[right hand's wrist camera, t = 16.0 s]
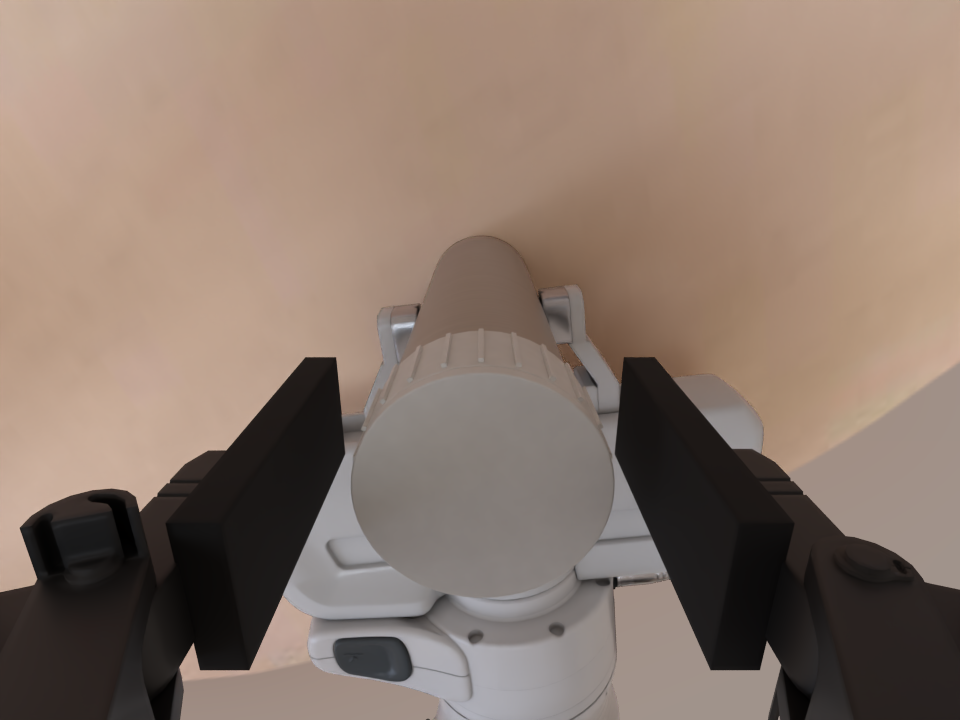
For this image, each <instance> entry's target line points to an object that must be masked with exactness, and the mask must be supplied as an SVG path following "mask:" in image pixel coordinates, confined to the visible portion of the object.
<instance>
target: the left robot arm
mask: <svg viewBox="0 0 960 720" xmlns="http://www.w3.org/2000/svg"><path fill="white" fill-rule="evenodd" d="M538 297H539V300H540V303H541V305H542V308H543V311H544V313H545V316H546V318H547V321H548V323H549V326H550V328H551V331H552V334H553V336H554V339H555V341H556V344H565V343H568V344H569V346H570V347H571V348H572V350H573V351H574V353H575V354H576V355H577V357H578V358H579V360H580V361H581V362H582V364H583V365H584V366H576V367H575V368H574V369H573V374H574V376H575V377H576V379H577V381H578V382H579V384H580V385H581V387H584V386H585V387H586V389H587V391H588V394H589V396H590V398H591V400H592V403H593V405H594V407H595V409H596V412H597V414H598V416H599V418H600V421H601V423H602V425H603V428H602V432H603V434H604V436H605V439H606V441H607V443H608V446H609V448H610V450H611V453H612V457H613V458H611V460H612V464H613V470H614V479H615V488H614V499H613V504H612V509H611V513H610V515H609V518H608V521H607V524H606V526H605V528H604V530H603V532H602V534H601V536H600V537H599V539H598V540H597V542H596V543H595V545H594V546H593V547H592V549H591V550H590V551H589V552H588V553H587V554H586V555H585V557H584V558H583V559H582V560H581V561H580V562H579V563H577V564H576V565H575V566H574V567H572V568H571V569H570V570H569V571H567V572H566V573H564V574H563V575H561V576H560V577H558V578H557V579H555V580H553V581H551V582H549V583H547V584H545V585H543V586H540V587H538V588H535V589H532V590H529V591H526V592H522V593H518V594H514V595H509V596H502V597H492V598H474V597H462V596H456V595H450V594H446V593H443V592H439V591H436V590H433V589H430V588H428V587H425V586H423V585H420V584H418V583H416V582H414V581H412V580H411V579H409V578H407V577H405V576H404V575H402V574H401V573H399V572H398V571H397V570H395V569H394V568H392V567H391V566H390V565H389V564H388V563H387V562H386V561H385V560H383V559H382V558H381V557H380V555H379V554H378V553H377V552H376V551H375V550H374V548H373V547H372V546H371V544H370V543H369V541H368V540H367V538H366V537H365V535H364V534H363V532H362V529H361V527H360V525H359V523H358V521H357V518H356V515H355V511H354V508H353V503H352V497H351V473H352V467H353V460H352V459H353V455H354V452H355V450H356V447H357V445H358V442H359V440H360V438H361V435H362V433H363V431H362V430H361V428H362V426H363V423H364V421H365V419H366V416H367V414H368V411H369V409H370V407H371V404H372V402H373V400H374V397H375V395H376V393H377V391H378V388H380V389H383V387H384V385H385V383H386V381H387V380H388V378H389V376H390V373H391V371H392V368H393V366H394V365H395V364H397V365H398V366H399V364H400V362H401V359H402V356H403V354H404V351H405V348H406V346H407V343H408V340H409V338H410V335H411V332H412V330H413V327H414V324H415V322H416V319H417V316H418V314H419V311H420V308H421V305H420V304H411V305H401V306H390V307H384V308H381V310H380V312H379V313H378V315H377V328H378V334H379V339H380V344H381V349H382V354H383V359H384V360H383V362H382V364H381V367H380V369H379V372H378V375H377V377H376V380H375V382H374V385H373V387H372V390H371V393H370V395H369V398H368V400H367V403H366V406H365V408H364V412H357V413H348V414H342V424H343V434H344V444H345V456H344V458H343V461H342V463H341V465H340V467H339V470H338V472H337V474H336V476H335V479H334V481H333V483H332V485H331V488H330V490H329V492H328V494H327V496H326V499H325V501H324V503H323V505H322V508H321V510H320V512H319V514H318V517H317V519H316V521H315V523H314V526H313V528H312V530H311V532H310V535H309V537H308V539H307V541H306V544H305V546H304V548H303V550H302V553H301V555H300V557H299V559H298V562H297V564H296V566H295V568H294V571H293V573H292V575H291V577H290V580H289V582H288V584H287V586H286V589H285V591H284V593H283V596H284V597H285V598H286V599H287V600H288V601H289V602H290V603H291V604H292V605H293V606H294V607H296V608H297V609H298V610H300V611H302V612H304V613H306V614H308V615H311V616H312V620H311V625H310V630H309V635H308V641H307V646H308V652H309V655H310V658H311V660H312V662H313V664H314V665H315V666H316V667H317V668H319V669H320V670H322V671H324V672H328V673H332V674H337V675H343V676H351V677H358V678H363V679H370V680H375V681H381V682H386V683H391V684H395V685H400V686H404V687H407V688H411V689H414V690H418V691H421V692H424V693H427V694H430V695H433V696H435V697H438V698H440V700H439V706H438V710H437V714H436V716H435V718H434V719H433V720H620V717H619V707H618V702H617V697H616V694H615V691H614V688H613V685H612V680H613V677H614V673H615V667H616V630H615V607H614V595H613V589H615V587H620V586H621V587H623V586H633V585H644V584H651V583H656V582H661V581H662V580H663V581H665V580H668V579H669V580H670V577H669V575H668V573H667V571H666V568H665V566H664V564H663V562H662V559H661V557H660V555H659V553H658V550H657V548H656V546H655V544H654V541H653V539H652V537H651V535H650V532H649V530H648V528H647V526H646V523H645V521H644V519H643V517H642V514H641V512H640V510H639V508H638V505H637V503H636V501H635V499H634V496H633V494H632V492H631V490H630V488H629V485H628V483H627V481H626V479H625V476H624V474H623V472H622V470H621V467H620V465H619V463H618V461H617V458H616V456H615V444H616V434H617V424H618V413H619V403H620V393H621V383H619V382H618V380H617V379H616V377H615V375H614V373H613V372H612V370H611V368H610V367H609V365H608V363H607V362H606V360H605V359H604V357H603V356H602V355H601V353H600V352H599V350H598V349H597V348H596V346H595V345H594V343H593V342H592V341H591V339H590V338H589V336H588V335H587V334H586V329H585V313H584V300H583V295H582V291H581V290H580V288H579V287H578V286H577V284H575V285H567V286H559V287H551V288H544V289H538ZM672 379H673V380H674V381H675V382H676V383H677V385H678V386H679V387H680V388H681V389H682V390H683V392H684V393H685V394H686V395H687V396H688V398H689V399H690V400H691V401H692V402H693V403H694V405H695V406H696V407H697V408H698V409H699V411H700V412H701V413H702V414H703V415H704V416H705V418H706V419H707V420H708V421H709V422H710V424H711V425H712V426H713V427H714V428H715V429H716V431H717V432H718V433H719V434H720V435H721V437H722V438H723V439H724V440H725V441H726V442H727V444H728V445H729V446H730V447H731V448H732V449H753V450H755V451H757V452H758V453H760V454H761V453H762V446H763V435H764V431H763V424H762V421H761V419H760V417H759V415H758V413H757V412H756V411H755V410H754V408H753V407H752V406H751V405H750V404H749V403H748V401H747V400H746V399H745V398H744V397H743V396H742V395H741V394H740V393H739V392H737V391H736V390H735V389H734V388H733V387H731V386H730V385H729V384H728V383H726V382H725V381H724V380H722V379H721V378H720V377H718V376H716V375H713V374H700V375H691V376H682V377H673V378H672ZM426 720H430V719H426Z"/></svg>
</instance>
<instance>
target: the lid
mask: <svg viewBox="0 0 960 720" xmlns="http://www.w3.org/2000/svg"><path fill="white" fill-rule="evenodd" d="M602 428H603V425H602V423H601V421H600V418H599V416H598V414H597V412H596V409H595V407H594V405H593V403H592V400H591V398H590V396H589V394H588V391H587V389H586V387H585V386H584V387H581V385H580V384H579V382H578V381H577V379H576V377H575V376H574V374H573V371H572V369H571V366H570V365H569V364H568V363H567V362H566V363H565V364H564V363H563V362H562V361H561V360H560V359H559V358H558V357H556V356H555V355H554V354H553V353H551V352H550V351H548V350H547V347H546V345H544V344H541V346H540V345H538V344H536V343H534V342H532V341H530V340H528V339H525V338H522V337H519V336H517V334H516V333H514V332H511V334H508V333H503V332H496V331H484V329H483V328H479V330H478V331H468V332H462V333H456V334H452V335H451V333H447V334H446V336H445V337H442V338H439V339H437V340H435V341H433V342H430V343H428V344H426V345H424V346H423V347H422V346H421V345H419V346H418V347H417V348H416V351H415V352H413V353H412V354H411V355H410V356H408V357H407V358H406V359H405V360H404V361H402V363H401V364H400V365H399V366H398V365H397V364H395V365H394V366H393V368H392V371H391V373H390V376H389V378H388V380H387V381H386V383H385V385H384V387H383V389H380V388H378V391H377V393H376V395H375V397H374V400H373V402H372V404H371V407H370V409H369V411H368V414H367V416H366V419H365V421H364V423H363V426H362V428H361V430H362V431H363V433H362V435H361V438H360V440H359V442H358V445H357V447H356V450H355V452H354V455H353V459H352V460H353V467H352V473H351V497H352V503H353V508H354V511H355V515H356V518H357V521H358V523H359V525H360V527H361V529H362V532H363V534H364V535H365V537H366V538H367V540H368V541H369V543H370V544H371V546H372V547H373V548H374V550H375V551H376V552H377V553H378V554H379V555H380V557H381V558H382V559H383V560H385V561H386V562H387V563H388V564H389V565H390V566H391V567H392V568H394V569H395V570H397V571H398V572H399V573H401V574H402V575H404V576H405V577H407V578H409V579H411V580H412V581H414V582H416V583H418V584H420V585H423V586H425V587H428V588H430V589H433V590H436V591H439V592H443V593H446V594H450V595H456V596H462V597H474V598H492V597H502V596H509V595H514V594H518V593H522V592H526V591H529V590H532V589H535V588H538V587H540V586H543V585H545V584H547V583H549V582H551V581H553V580H555V579H557V578H558V577H560V576H561V575H563V574H564V573H566V572H567V571H569V570H570V569H571V568H572V567H574V566H575V565H576V564H577V563H579V562H580V561H581V560H582V559H583V558H584V557H585V555H586V554H587V553H588V552H589V551H590V550H591V549H592V547H593V546H594V545H595V543H596V542H597V540H598V539H599V537H600V536H601V534H602V532H603V530H604V528H605V526H606V524H607V521H608V518H609V515H610V513H611V509H612V504H613V499H614V488H615V479H614V470H613V464H612V460H611V458H613V457H612V453H611V450H610V448H609V446H608V443H607V441H606V439H605V436H604V434H603V432H602Z"/></svg>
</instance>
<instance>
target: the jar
mask: <svg viewBox="0 0 960 720" xmlns="http://www.w3.org/2000/svg"><path fill="white" fill-rule="evenodd" d="M479 328H483V329H484V331H496V332H503V333H508V334H511V332H514V333H516V334H517V336H519V337H522V338H525V339H528V340H530V341H532V342H534V343H536V344H538V345H540V346H541V344H544V345H546V347H547V350H548V351H550V352H551V353H553V354H554V355H555V356H556V357H558V358H559V359H560V360H561V361H562V362H563V359H562V357H561V354H560V351H559V349H558V346H557V344H556V341H555V339H554V336H553V334H552V331H551V328H550V326H549V323H548V321H547V318H546V316H545V313H544V311H543V308H542V305H541V303H540V300H539V298H538V295H537V293H536V290H535V288H534V285H533V282H532V280H531V277H530V275H529V272H528V270H527V267H526V265H525V263H524V261H523V259H522V257H521V256H520V255H519V253H518V252H517V251H516V250H515V249H514V248H513V247H512V246H510V245H509V244H507V243H506V242H504V241H502V240H500V239H497V238H494V237H489V236H474V237H469V238H466V239H463V240H461V241H459V242H457V243H455V244H454V245H452V246H451V247H450V248H449V249H448V250H447V251H446V252H445V253H444V254H443V255H442V257H441V258H440V260H439V262H438V264H437V266H436V269H435V271H434V274H433V277H432V279H431V282H430V285H429V287H428V290H427V292H426V295H425V298H424V300H423V303H422V306H421V308H420V311H419V314H418V316H417V319H416V322H415V324H414V327H413V330H412V332H411V335H410V338H409V340H408V343H407V346H406V348H405V351H404V354H403V356H402V359H401V362H400V364H401V363H402V361H404V360H405V359H406V358H407V357H408V356H410V355H411V354H412V353H413V352H415V351H416V348H417V347H418V346H419V345H421V346H422V347H423V346H424V345H426V344H428V343H430V342H433V341H435V340H437V339H439V338H442V337H445V336H446V334H447V333H451V335H452V334H456V333H462V332H468V331H478V330H479ZM563 363H564V362H563ZM400 364H399V365H400Z"/></svg>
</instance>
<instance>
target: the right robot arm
mask: <svg viewBox="0 0 960 720" xmlns="http://www.w3.org/2000/svg"><path fill="white" fill-rule="evenodd" d="M344 456H345V444H344V434H343V424H342V413H341V403H340V393H339V382H338V372H337V362H336V357H305V359H304V360H303V361H302V362H301V363H300V365H299V366H298V367H297V368H296V369H295V370H294V372H293V373H292V374H291V375H290V376H289V378H288V379H287V380H286V381H285V382H284V383H283V385H282V386H281V387H280V388H279V389H278V390H277V392H276V393H275V394H274V395H273V396H272V398H271V399H270V400H269V401H268V402H267V403H266V405H265V406H264V407H263V408H262V409H261V411H260V412H259V413H258V414H257V415H256V416H255V418H254V419H253V420H252V421H251V422H250V424H249V425H248V426H247V427H246V428H245V429H244V431H243V432H242V433H241V434H240V435H239V437H238V438H237V439H236V440H235V441H234V442H233V444H232V445H231V446H230V447H229V448H228V449H227V451H207V452H205V453H203V454H202V455H200V456H198V457H197V458H195V459H193V460H192V461H190V462H188V463H186V464H185V465H184V466H183V467H182V468H181V469H180V470H179V471H178V472H177V473H176V474H175V476H174V477H173V478H172V479H171V480H170V483H167V484H166V485H165V486H164V487H163V488H162V489H161V490H160V491H159V492H158V495H157V497H154V498H153V499H152V500H151V501H150V502H149V503H148V504H147V505H146V506H145V507H144V508H143V509H142V511H141V512H139V508H138V504H137V500H136V497H135V496H133V495H132V494H131V493H129V492H128V491H124V490H117V489H103V490H92V491H88V492H84V493H80V494H76V495H72V496H69V497H67V498H64V499H62V500H60V501H57V502H55V503H52V504H50V505H48V506H46V507H45V508H43V509H42V510H40V511H38V512H37V513H35V514H34V515H32V516H31V517H30V518H29V519H28V520H27V521H26V522H25V523H24V524H23V525H22V526H21V527H20V530H21V533H22V536H23V539H24V542H25V545H26V547H27V550H28V553H29V556H30V559H31V562H32V565H33V568H34V570H35V573H36V576H37V581H36V583H35V585H33V586H29V587H24V588H19V589H14V590H9V591H5V592H0V720H180V715H181V707H182V699H183V692H184V689H183V682H182V677H181V673H180V669H179V666H180V665H181V663H182V661H183V660H184V658H185V656H186V654H187V653H188V651H189V649H190V648H191V646H192V644H193V642H194V646H195V650H196V655H197V659H198V663H199V667H200V670H250V667H251V665H252V663H253V661H254V658H255V656H256V654H257V652H258V649H259V647H260V645H261V643H262V640H263V638H264V636H265V634H266V631H267V629H268V627H269V625H270V622H271V620H272V618H273V616H274V613H275V611H276V609H277V607H278V604H279V602H280V600H281V598H282V595H283V593H284V591H285V589H286V586H287V584H288V582H289V580H290V577H291V575H292V573H293V571H294V568H295V566H296V564H297V562H298V559H299V557H300V555H301V553H302V550H303V548H304V546H305V544H306V541H307V539H308V537H309V535H310V532H311V530H312V528H313V526H314V523H315V521H316V519H317V517H318V514H319V512H320V510H321V508H322V505H323V503H324V501H325V499H326V496H327V494H328V492H329V490H330V488H331V485H332V483H333V481H334V479H335V476H336V474H337V472H338V470H339V467H340V465H341V463H342V461H343V458H344ZM615 456H616V458H617V461H618V463H619V465H620V467H621V470H622V472H623V474H624V476H625V479H626V481H627V483H628V485H629V488H630V490H631V492H632V494H633V496H634V499H635V501H636V503H637V505H638V508H639V510H640V512H641V514H642V517H643V519H644V521H645V523H646V526H647V528H648V530H649V532H650V535H651V537H652V539H653V541H654V544H655V546H656V548H657V550H658V553H659V555H660V557H661V559H662V562H663V564H664V566H665V568H666V571H667V573H668V575H669V577H670V580H671V582H672V584H673V586H674V589H675V591H676V593H677V595H678V598H679V600H680V602H681V604H682V607H683V609H684V611H685V613H686V615H687V618H688V620H689V622H690V625H691V627H692V629H693V631H694V634H695V636H696V638H697V640H698V643H699V645H700V647H701V649H702V652H703V654H704V656H705V658H706V661H707V663H708V665H709V667H710V670H760V667H761V663H762V659H763V655H764V650H765V646H766V642H767V641H768V643H769V645H770V646H771V648H772V650H773V652H774V653H775V655H776V657H777V658H778V660H779V662H780V663H781V669H780V673H779V677H778V681H777V684H776V688H775V692H774V696H773V700H772V704H771V708H770V712H769V717H768V720H778V717H779V716H780V720H960V590H958V589H953V588H949V587H944V586H939V585H934V584H930V583H926V582H924V580H923V578H922V577H921V576H920V574H919V573H918V572H917V571H916V570H915V568H914V567H913V566H912V565H911V564H910V563H908V562H907V561H905V560H904V559H903V558H901V557H900V556H899V555H897V554H896V553H894V552H892V551H890V550H888V549H886V548H884V547H882V546H880V545H878V544H875V543H872V542H869V541H865V540H862V539H859V538H855V537H847V536H845V535H844V534H843V533H842V532H841V531H840V530H839V529H838V528H837V527H836V526H835V525H834V524H833V523H832V522H831V520H830V519H829V518H828V517H827V516H826V515H825V514H824V513H823V512H822V511H821V510H820V509H819V508H818V507H817V506H816V505H815V504H814V503H813V502H812V500H811V499H810V498H809V497H808V496H807V495H803V491H802V490H801V489H800V488H799V487H798V486H797V485H796V484H795V483H794V482H793V481H790V477H789V476H788V475H787V474H786V473H785V472H784V471H783V470H782V469H781V468H780V467H779V466H778V465H777V464H776V463H775V462H774V461H772V460H770V459H769V458H767V457H765V456H763V455H762V454H760V453H758V452H757V451H755V450H753V449H732V448H731V447H730V446H729V445H728V444H727V442H726V441H725V440H724V439H723V438H722V437H721V435H720V434H719V433H718V432H717V431H716V429H715V428H714V427H713V426H712V425H711V424H710V422H709V421H708V420H707V419H706V418H705V416H704V415H703V414H702V413H701V412H700V411H699V409H698V408H697V407H696V406H695V405H694V403H693V402H692V401H691V400H690V399H689V398H688V396H687V395H686V394H685V393H684V392H683V390H682V389H681V388H680V387H679V386H678V385H677V383H676V382H675V381H674V380H673V379H672V378H671V376H670V375H669V374H668V373H667V372H666V370H665V369H664V368H663V367H662V366H661V365H660V363H659V362H658V361H657V360H656V359H655V357H624V361H623V372H622V382H621V393H620V403H619V413H618V424H617V434H616V444H615Z"/></svg>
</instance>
